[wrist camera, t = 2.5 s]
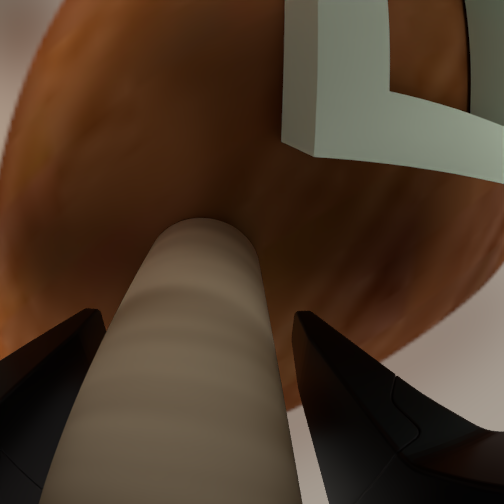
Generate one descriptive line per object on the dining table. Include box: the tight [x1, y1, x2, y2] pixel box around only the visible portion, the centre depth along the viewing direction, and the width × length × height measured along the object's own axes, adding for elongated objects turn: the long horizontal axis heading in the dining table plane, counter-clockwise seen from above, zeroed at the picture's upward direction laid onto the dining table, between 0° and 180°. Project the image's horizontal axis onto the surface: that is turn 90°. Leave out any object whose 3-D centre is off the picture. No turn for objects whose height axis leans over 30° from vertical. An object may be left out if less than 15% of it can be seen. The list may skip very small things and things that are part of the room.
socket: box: [281, 0, 504, 184], centre depth 6 cm, size 9×9×4 cm
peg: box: [39, 218, 302, 504], centre depth 7 cm, size 4×4×9 cm
